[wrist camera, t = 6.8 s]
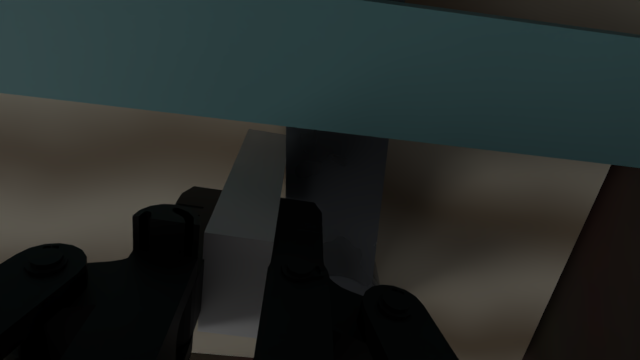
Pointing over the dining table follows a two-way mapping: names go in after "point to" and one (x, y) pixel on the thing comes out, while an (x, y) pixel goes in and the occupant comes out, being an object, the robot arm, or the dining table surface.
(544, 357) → the dining table surface
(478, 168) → the pivot plate
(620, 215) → the dining table surface
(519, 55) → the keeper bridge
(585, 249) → the dining table surface
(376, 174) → the swing link
